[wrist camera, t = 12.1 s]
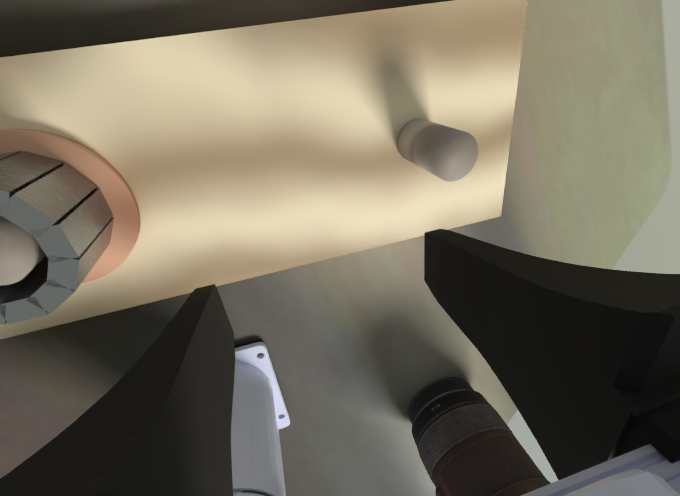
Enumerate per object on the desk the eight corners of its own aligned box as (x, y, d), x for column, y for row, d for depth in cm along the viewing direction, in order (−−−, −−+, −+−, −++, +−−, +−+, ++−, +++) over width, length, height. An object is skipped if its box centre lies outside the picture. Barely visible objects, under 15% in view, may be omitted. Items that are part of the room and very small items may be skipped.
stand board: (486, 208, 24) (553, 246, 19) (4, 323, 19) (-82, 418, 14) (508, -4, 18) (615, -32, 13) (-194, 85, 13) (-476, 99, 8)
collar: (139, 216, 16) (112, 258, 13) (61, 287, 17) (15, 345, 13) (15, 123, 13) (-63, 143, 10) (-73, 212, 14) (-175, 261, 10)
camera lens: (458, 426, 36) (579, 623, 23) (391, 432, 33) (485, 659, 21) (489, 370, 33) (649, 564, 20) (417, 373, 30) (548, 598, 17)
